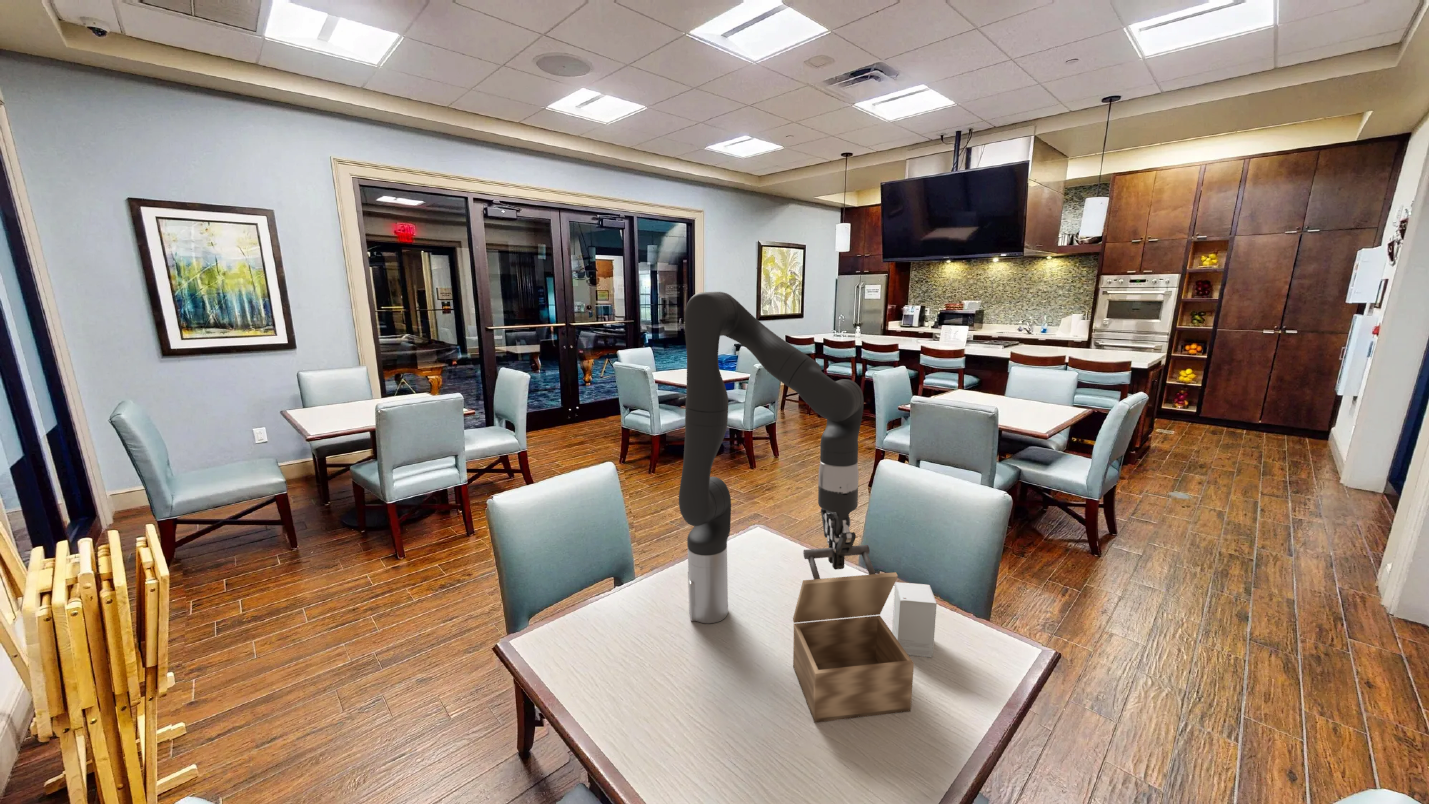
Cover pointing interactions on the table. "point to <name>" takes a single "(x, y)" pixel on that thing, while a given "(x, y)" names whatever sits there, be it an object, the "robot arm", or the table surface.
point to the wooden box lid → (842, 590)
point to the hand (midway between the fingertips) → (836, 565)
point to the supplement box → (914, 618)
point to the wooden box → (851, 668)
